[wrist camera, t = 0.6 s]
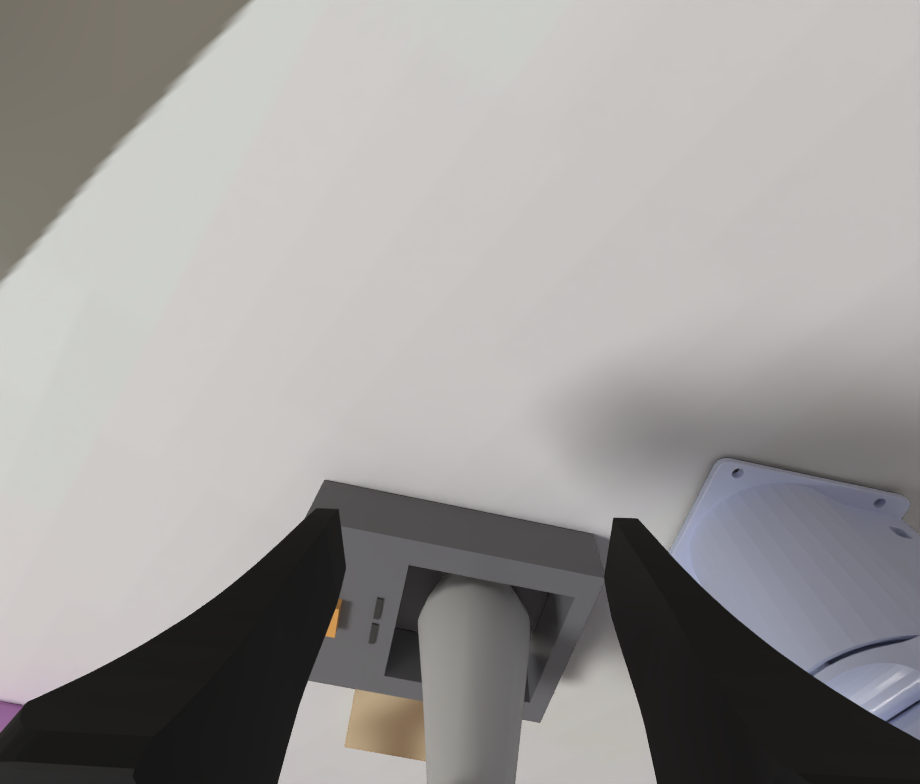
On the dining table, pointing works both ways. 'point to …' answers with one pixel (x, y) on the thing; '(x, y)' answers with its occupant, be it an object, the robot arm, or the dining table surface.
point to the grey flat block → (453, 551)
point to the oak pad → (387, 725)
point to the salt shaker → (473, 680)
